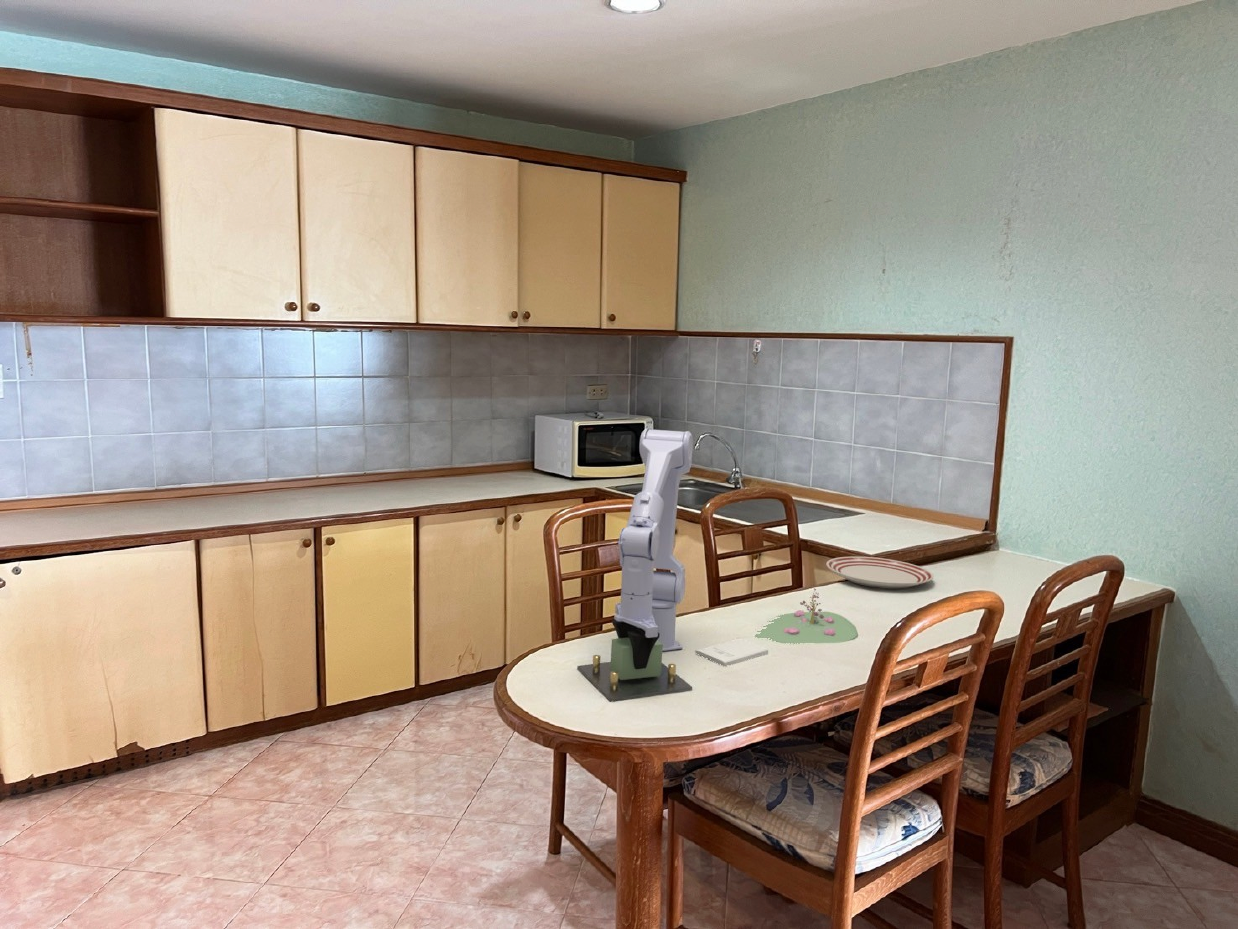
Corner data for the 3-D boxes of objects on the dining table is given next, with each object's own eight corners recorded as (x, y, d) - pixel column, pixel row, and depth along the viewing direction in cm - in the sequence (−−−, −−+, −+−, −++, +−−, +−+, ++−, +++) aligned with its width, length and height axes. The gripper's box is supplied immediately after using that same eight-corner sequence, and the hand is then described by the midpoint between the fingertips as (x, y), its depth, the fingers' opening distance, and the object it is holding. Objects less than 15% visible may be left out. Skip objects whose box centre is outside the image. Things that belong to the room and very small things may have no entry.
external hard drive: (768, 656, 185) (724, 669, 177) (738, 644, 191) (695, 656, 183) (768, 648, 184) (725, 661, 177) (738, 637, 191) (695, 649, 183)
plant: (806, 658, 184) (809, 615, 183) (729, 630, 200) (731, 590, 198) (876, 633, 201) (879, 594, 199) (800, 609, 216) (802, 572, 215)
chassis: (577, 668, 173) (577, 650, 172) (653, 659, 179) (654, 641, 179) (610, 701, 158) (610, 682, 158) (692, 690, 165) (693, 671, 164)
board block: (610, 670, 169) (611, 639, 169) (649, 666, 173) (651, 635, 172) (620, 680, 165) (622, 648, 164) (660, 675, 168) (662, 644, 167)
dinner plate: (868, 561, 262) (869, 550, 262) (953, 584, 241) (955, 572, 241) (804, 574, 246) (804, 562, 245) (889, 601, 224) (890, 588, 224)
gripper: (601, 582, 171) (598, 651, 173) (633, 604, 158) (630, 679, 160) (635, 579, 174) (632, 647, 176) (669, 601, 161) (666, 674, 163)
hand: (634, 662), depth 168 cm, fingers closed on board block, 5 cm apart
